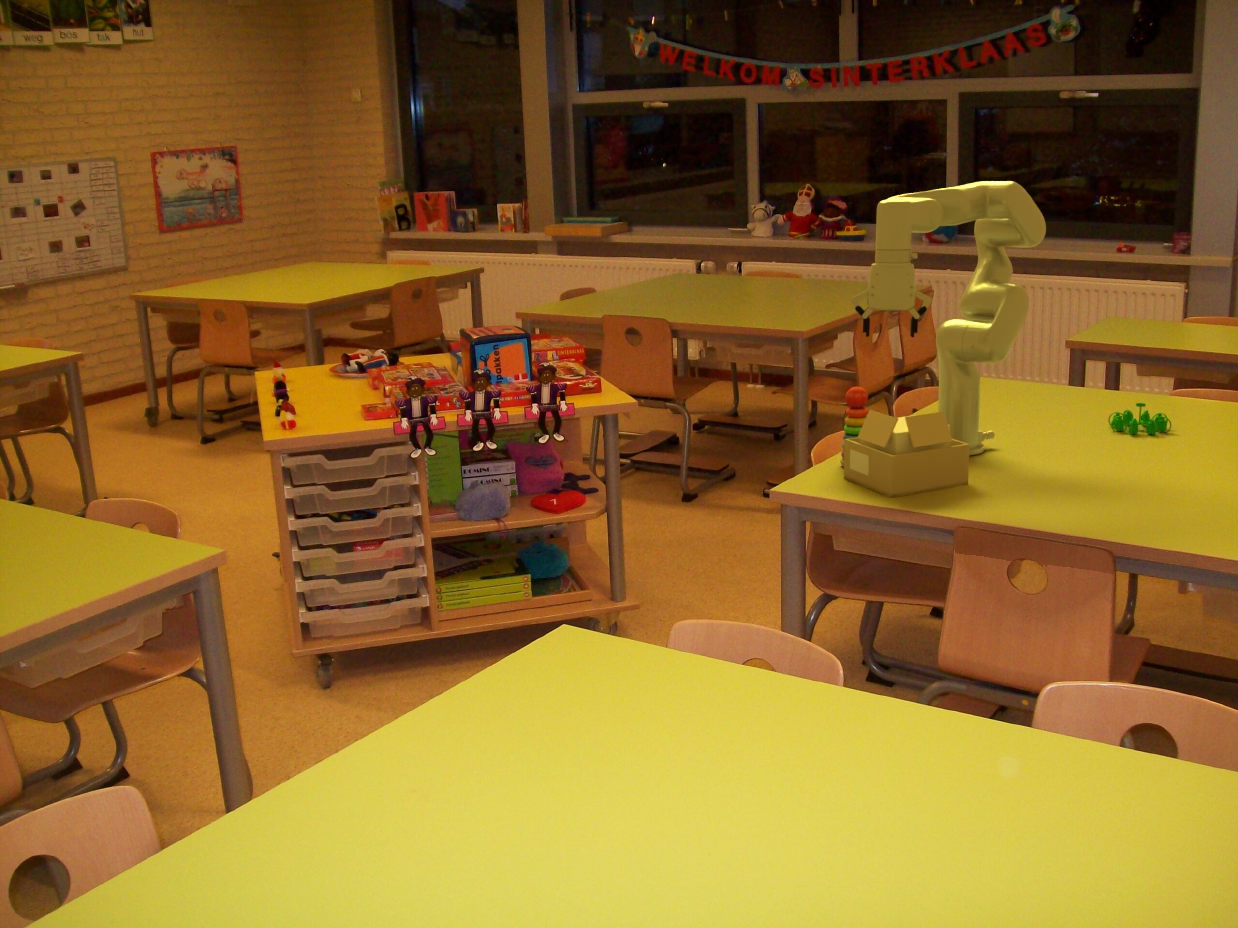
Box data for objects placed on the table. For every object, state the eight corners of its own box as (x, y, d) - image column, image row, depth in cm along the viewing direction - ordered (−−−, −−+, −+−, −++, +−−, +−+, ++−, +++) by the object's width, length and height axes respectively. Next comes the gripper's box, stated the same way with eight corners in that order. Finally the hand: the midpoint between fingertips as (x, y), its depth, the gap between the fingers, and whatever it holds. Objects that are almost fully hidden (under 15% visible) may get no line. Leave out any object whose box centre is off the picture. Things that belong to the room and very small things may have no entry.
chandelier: (1162, 440, 298) (1164, 412, 296) (1099, 433, 307) (1101, 406, 305) (1178, 428, 309) (1180, 401, 308) (1116, 421, 318) (1118, 395, 317)
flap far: (858, 438, 269) (857, 437, 269) (871, 410, 269) (869, 409, 268) (885, 448, 260) (884, 447, 260) (898, 418, 260) (897, 418, 260)
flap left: (913, 447, 259) (914, 447, 259) (904, 417, 261) (905, 416, 260) (951, 441, 263) (952, 441, 263) (942, 411, 264) (944, 411, 264)
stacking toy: (873, 461, 288) (874, 383, 283) (876, 470, 280) (878, 390, 275) (839, 462, 288) (839, 384, 284) (841, 470, 281) (842, 390, 276)
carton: (917, 465, 283) (919, 410, 280) (970, 483, 266) (972, 425, 263) (842, 477, 275) (842, 421, 272) (891, 497, 259) (892, 438, 255)
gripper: (932, 256, 267) (929, 334, 271) (852, 256, 270) (849, 333, 274) (935, 259, 260) (931, 339, 264) (852, 259, 263) (849, 338, 267)
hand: (889, 336), depth 269 cm, fingers open, 9 cm apart
